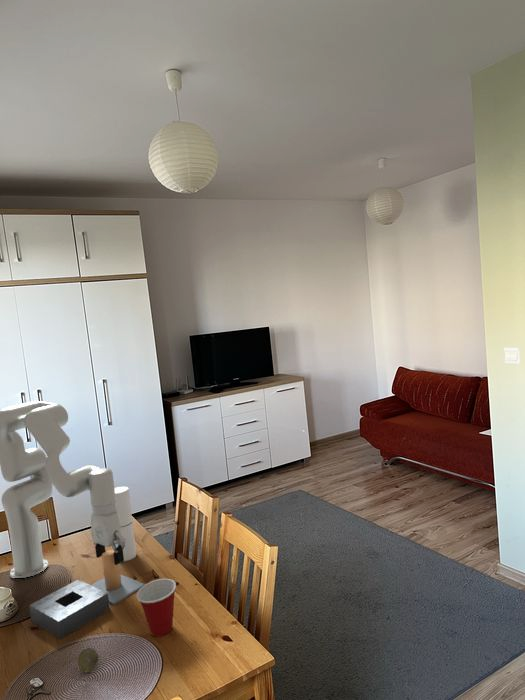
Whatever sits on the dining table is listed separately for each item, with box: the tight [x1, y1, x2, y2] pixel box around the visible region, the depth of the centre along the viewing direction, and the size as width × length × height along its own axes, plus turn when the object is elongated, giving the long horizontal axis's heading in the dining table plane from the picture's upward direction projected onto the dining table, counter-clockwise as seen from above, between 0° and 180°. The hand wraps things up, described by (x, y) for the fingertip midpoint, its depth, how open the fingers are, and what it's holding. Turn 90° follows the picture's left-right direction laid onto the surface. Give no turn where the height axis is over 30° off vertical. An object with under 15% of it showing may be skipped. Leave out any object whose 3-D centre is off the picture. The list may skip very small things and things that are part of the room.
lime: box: [77, 647, 99, 673], centre depth 127 cm, size 4×5×5 cm
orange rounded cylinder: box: [101, 549, 122, 591], centre depth 165 cm, size 5×5×11 cm
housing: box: [29, 579, 111, 640], centre depth 152 cm, size 16×16×5 cm
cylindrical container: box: [114, 486, 137, 562], centre depth 186 cm, size 7×7×25 cm
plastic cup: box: [136, 578, 177, 637], centre depth 140 cm, size 11×11×12 cm
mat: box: [90, 574, 145, 605], centre depth 165 cm, size 16×12×1 cm
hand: (110, 559), depth 165 cm, fingers open, 9 cm apart
